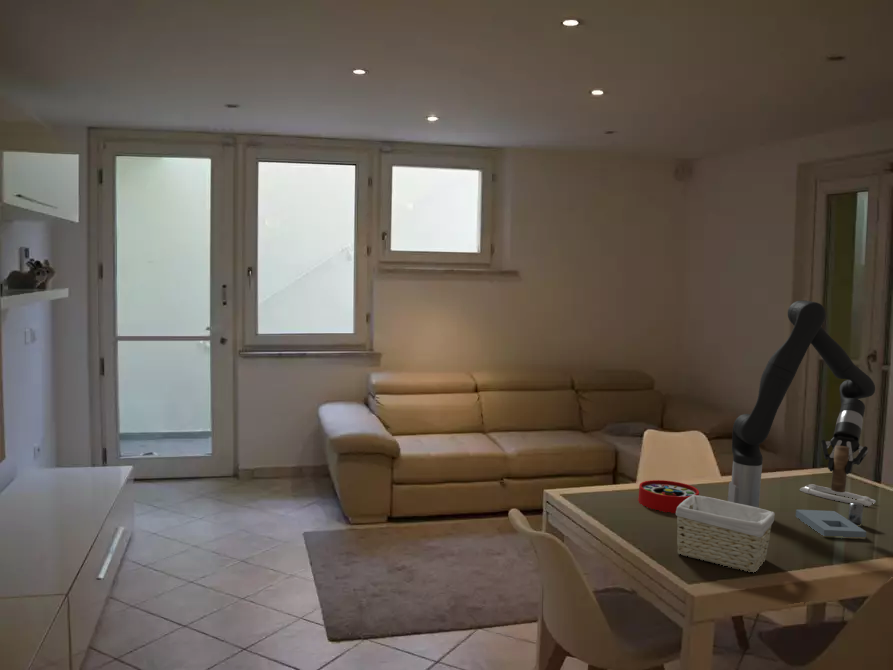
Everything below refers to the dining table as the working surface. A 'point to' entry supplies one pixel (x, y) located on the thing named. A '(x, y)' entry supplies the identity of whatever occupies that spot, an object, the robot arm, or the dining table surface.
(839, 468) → the long pin
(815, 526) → the hole board
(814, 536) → the dining table surface
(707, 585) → the dining table surface
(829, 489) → the door handle
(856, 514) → the short pin
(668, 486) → the toy clock
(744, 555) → the storage basket
